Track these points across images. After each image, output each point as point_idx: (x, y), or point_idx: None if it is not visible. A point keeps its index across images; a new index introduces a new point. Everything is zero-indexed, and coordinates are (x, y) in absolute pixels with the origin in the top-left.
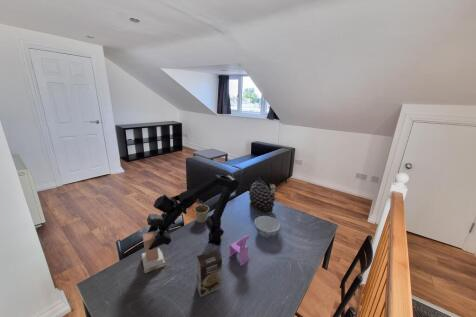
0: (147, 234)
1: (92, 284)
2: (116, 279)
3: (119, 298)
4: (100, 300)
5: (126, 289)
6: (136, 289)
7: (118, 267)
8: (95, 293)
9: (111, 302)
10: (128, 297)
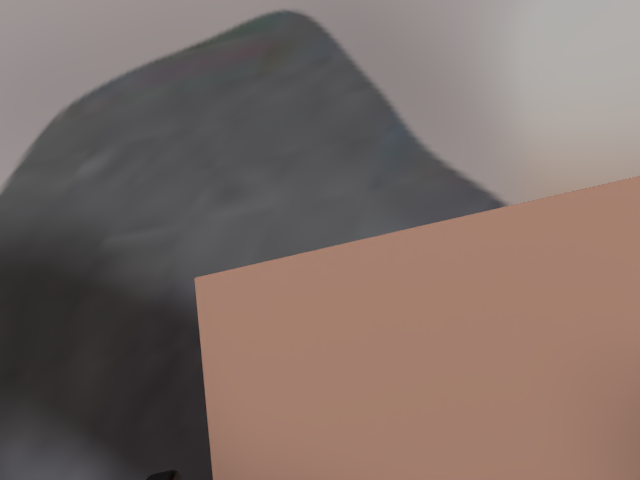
0: (633, 375)
1: (293, 46)
2: (285, 180)
3: (80, 237)
4: (128, 123)
5: (143, 274)
6: (102, 360)
7: (423, 168)
8: (204, 82)
9: (73, 191)
10: (52, 303)
